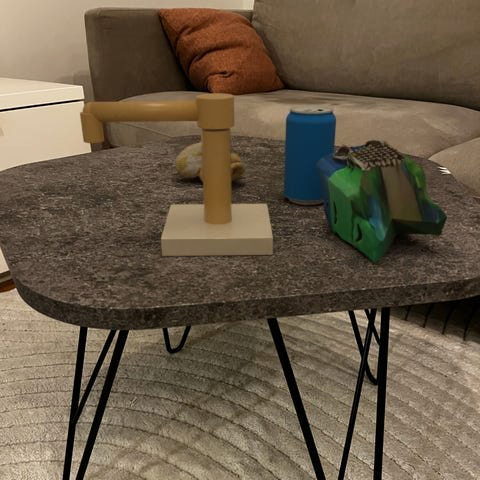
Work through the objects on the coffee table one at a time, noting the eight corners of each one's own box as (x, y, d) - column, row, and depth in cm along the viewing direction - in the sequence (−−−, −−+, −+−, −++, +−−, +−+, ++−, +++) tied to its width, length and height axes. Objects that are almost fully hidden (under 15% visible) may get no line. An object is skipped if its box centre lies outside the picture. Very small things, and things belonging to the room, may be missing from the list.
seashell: (219, 128, 96) (251, 141, 83) (226, 165, 99) (258, 183, 86) (161, 142, 94) (185, 157, 81) (169, 179, 97) (194, 200, 84)
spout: (234, 136, 66) (233, 93, 64) (234, 143, 62) (234, 98, 60) (87, 137, 66) (82, 94, 63) (79, 145, 62) (73, 100, 60)
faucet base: (162, 256, 64) (153, 140, 58) (171, 219, 74) (165, 119, 69) (272, 255, 64) (275, 139, 58) (266, 218, 74) (268, 118, 69)
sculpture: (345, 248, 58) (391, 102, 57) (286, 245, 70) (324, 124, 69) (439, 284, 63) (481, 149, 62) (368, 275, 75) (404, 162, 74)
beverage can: (338, 197, 82) (345, 107, 77) (316, 209, 78) (322, 114, 72) (298, 190, 86) (301, 103, 80) (274, 201, 81) (276, 109, 75)
